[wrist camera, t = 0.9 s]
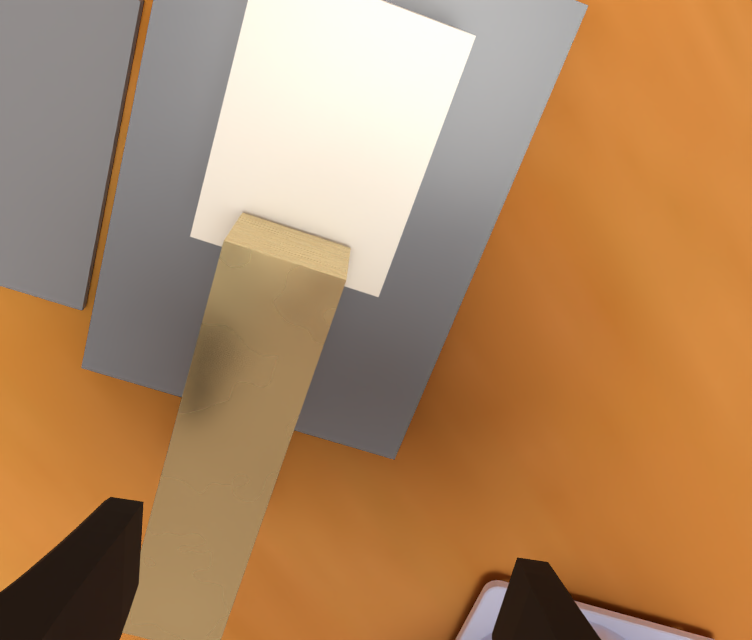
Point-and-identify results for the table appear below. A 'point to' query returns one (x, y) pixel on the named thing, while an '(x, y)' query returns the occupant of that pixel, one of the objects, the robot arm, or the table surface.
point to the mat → (59, 137)
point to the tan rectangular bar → (234, 424)
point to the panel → (355, 308)
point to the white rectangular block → (331, 124)
